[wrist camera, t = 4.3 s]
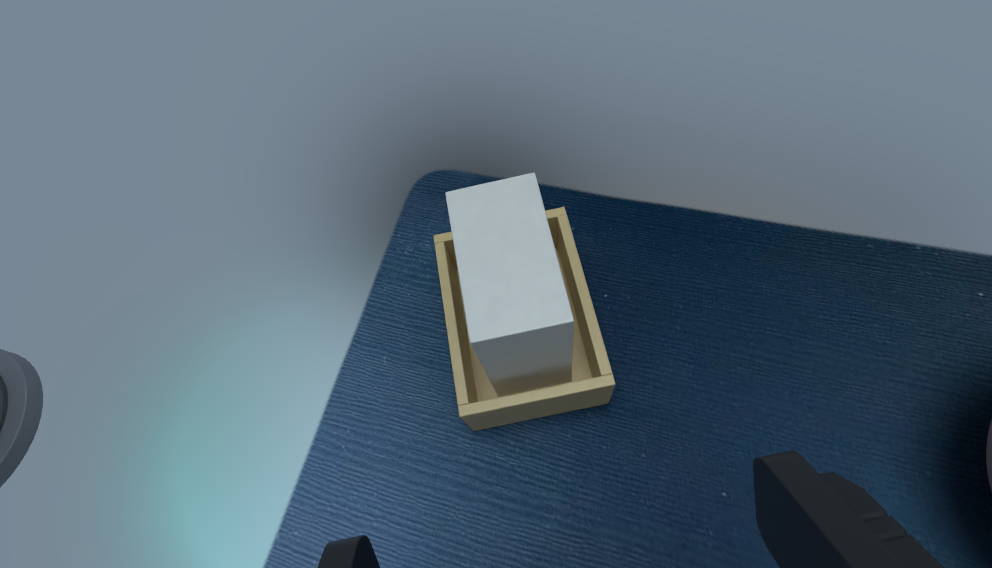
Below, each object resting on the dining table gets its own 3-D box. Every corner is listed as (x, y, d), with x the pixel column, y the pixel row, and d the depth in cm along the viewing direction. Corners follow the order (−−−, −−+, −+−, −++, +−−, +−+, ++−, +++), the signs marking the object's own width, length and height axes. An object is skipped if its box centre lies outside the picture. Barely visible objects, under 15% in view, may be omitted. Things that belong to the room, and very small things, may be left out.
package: (572, 381, 30) (575, 320, 21) (497, 396, 30) (468, 343, 21) (543, 265, 34) (535, 171, 25) (476, 280, 34) (443, 192, 25)
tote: (609, 403, 30) (615, 384, 26) (473, 431, 30) (459, 417, 26) (564, 243, 35) (564, 206, 31) (448, 268, 35) (433, 235, 31)
